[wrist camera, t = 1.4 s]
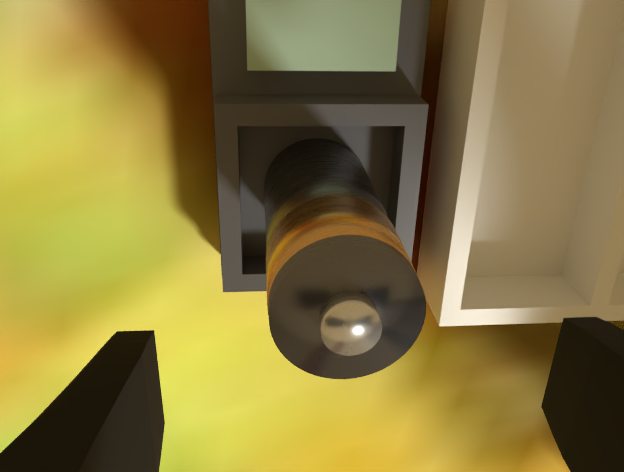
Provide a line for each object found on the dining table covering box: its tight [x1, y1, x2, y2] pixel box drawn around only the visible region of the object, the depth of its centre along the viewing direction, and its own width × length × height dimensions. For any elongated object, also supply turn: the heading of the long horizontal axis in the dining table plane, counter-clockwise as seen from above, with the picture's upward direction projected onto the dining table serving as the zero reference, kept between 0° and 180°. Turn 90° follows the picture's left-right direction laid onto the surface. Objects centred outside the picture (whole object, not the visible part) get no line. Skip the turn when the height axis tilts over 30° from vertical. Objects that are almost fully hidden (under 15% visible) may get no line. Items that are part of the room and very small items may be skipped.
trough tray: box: [417, 0, 624, 326], centre depth 18 cm, size 13×10×3 cm
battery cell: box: [264, 138, 426, 379], centre depth 15 cm, size 3×3×8 cm
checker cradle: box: [208, 0, 431, 292], centre depth 18 cm, size 9×6×2 cm, turn 179°
